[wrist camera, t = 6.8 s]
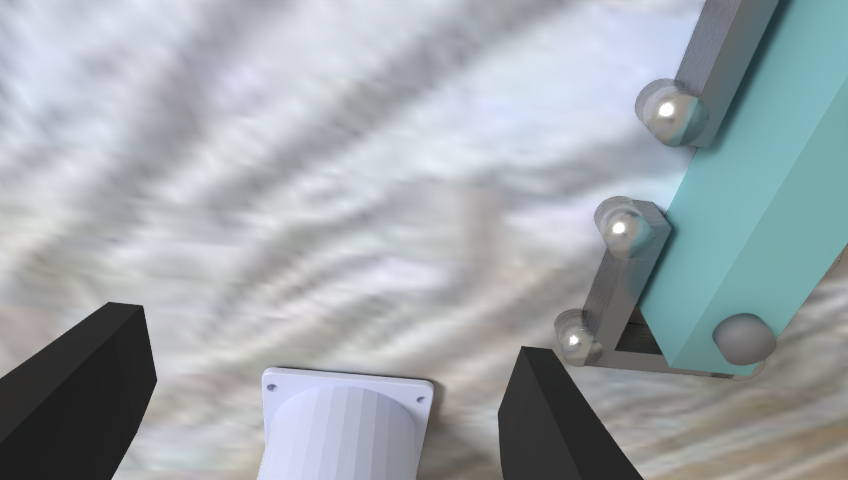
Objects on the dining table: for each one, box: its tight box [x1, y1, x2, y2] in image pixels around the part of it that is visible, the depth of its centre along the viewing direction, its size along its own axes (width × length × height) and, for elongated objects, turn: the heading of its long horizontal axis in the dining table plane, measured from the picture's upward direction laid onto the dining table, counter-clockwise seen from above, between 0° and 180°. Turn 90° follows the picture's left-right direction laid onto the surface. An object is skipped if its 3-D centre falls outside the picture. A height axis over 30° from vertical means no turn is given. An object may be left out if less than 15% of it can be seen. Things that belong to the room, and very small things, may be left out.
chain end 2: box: [635, 0, 779, 148], centre depth 15 cm, size 7×9×2 cm
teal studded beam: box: [637, 0, 848, 376], centre depth 17 cm, size 12×3×5 cm, turn 171°
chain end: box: [554, 196, 841, 381], centre depth 21 cm, size 7×9×2 cm
